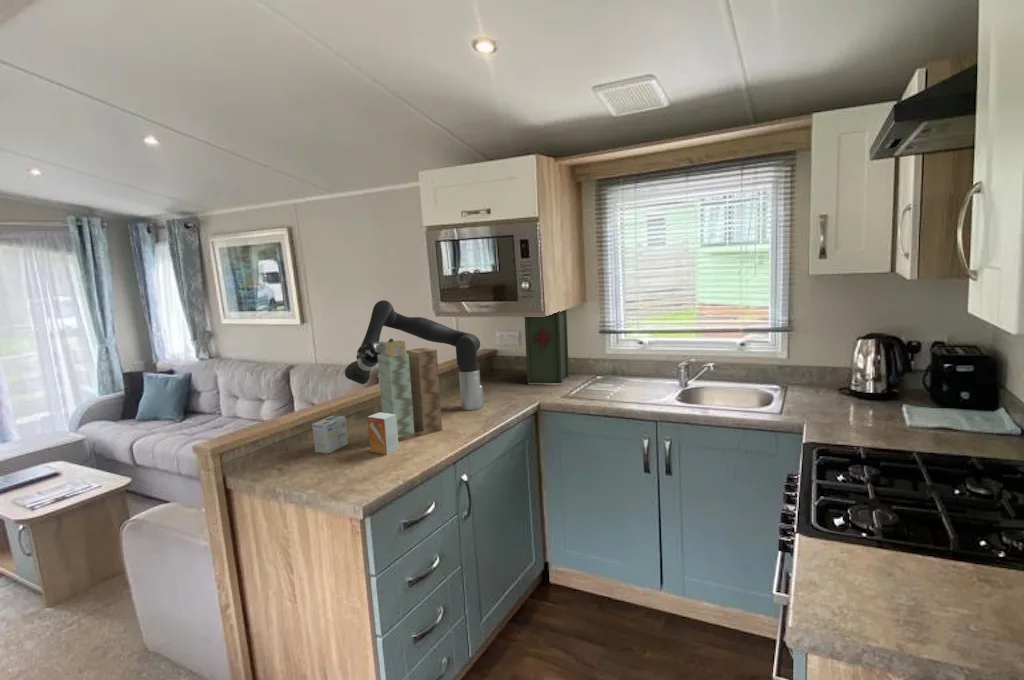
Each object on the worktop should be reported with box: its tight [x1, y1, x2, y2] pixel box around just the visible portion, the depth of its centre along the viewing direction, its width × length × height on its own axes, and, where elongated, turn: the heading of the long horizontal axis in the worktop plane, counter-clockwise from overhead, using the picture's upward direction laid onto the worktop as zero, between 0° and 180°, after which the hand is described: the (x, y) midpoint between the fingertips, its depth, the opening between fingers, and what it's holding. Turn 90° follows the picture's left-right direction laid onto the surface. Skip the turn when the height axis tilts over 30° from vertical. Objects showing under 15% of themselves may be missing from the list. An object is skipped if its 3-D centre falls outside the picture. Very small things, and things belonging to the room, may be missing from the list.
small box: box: [367, 411, 400, 456], centre depth 190 cm, size 8×6×13 cm
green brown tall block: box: [377, 347, 443, 442], centre depth 207 cm, size 20×10×32 cm, turn 128°
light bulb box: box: [311, 415, 349, 454], centre depth 196 cm, size 11×7×11 cm, turn 159°
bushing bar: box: [374, 340, 407, 357], centre depth 205 cm, size 6×18×5 cm, turn 37°
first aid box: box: [524, 309, 570, 383], centre depth 287 cm, size 18×18×40 cm
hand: (382, 342), depth 208 cm, fingers open, 8 cm apart
